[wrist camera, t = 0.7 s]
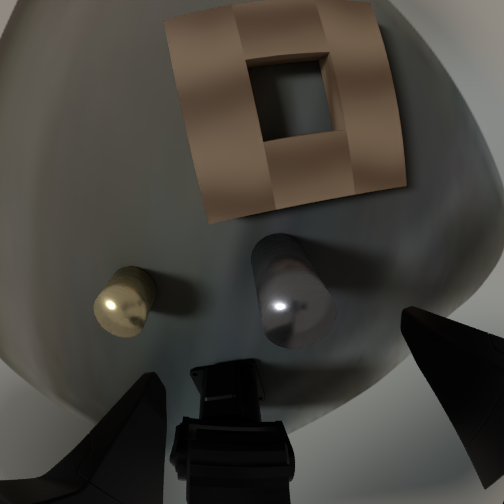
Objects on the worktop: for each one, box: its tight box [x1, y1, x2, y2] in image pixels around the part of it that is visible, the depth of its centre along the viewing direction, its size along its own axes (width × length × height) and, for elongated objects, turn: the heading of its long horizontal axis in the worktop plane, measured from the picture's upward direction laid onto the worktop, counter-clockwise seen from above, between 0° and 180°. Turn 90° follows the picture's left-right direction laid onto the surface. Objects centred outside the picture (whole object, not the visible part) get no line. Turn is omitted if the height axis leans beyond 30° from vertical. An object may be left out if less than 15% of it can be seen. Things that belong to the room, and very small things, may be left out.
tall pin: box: [251, 234, 337, 349], centre depth 18 cm, size 4×4×8 cm
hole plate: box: [164, 0, 407, 224], centre depth 16 cm, size 14×14×2 cm
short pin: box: [94, 267, 156, 337], centre depth 20 cm, size 4×4×4 cm
